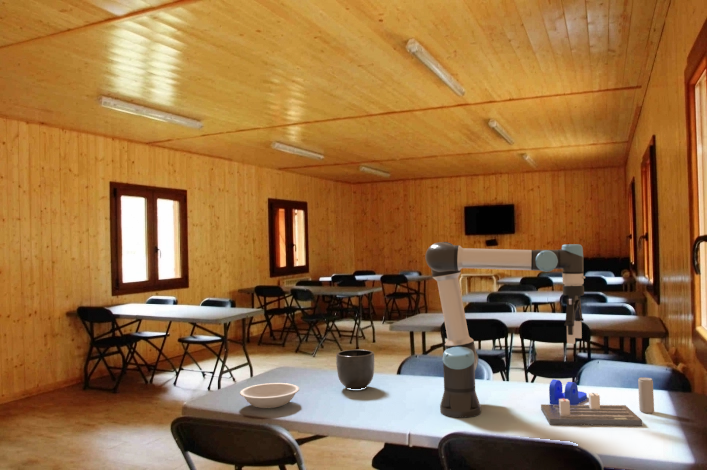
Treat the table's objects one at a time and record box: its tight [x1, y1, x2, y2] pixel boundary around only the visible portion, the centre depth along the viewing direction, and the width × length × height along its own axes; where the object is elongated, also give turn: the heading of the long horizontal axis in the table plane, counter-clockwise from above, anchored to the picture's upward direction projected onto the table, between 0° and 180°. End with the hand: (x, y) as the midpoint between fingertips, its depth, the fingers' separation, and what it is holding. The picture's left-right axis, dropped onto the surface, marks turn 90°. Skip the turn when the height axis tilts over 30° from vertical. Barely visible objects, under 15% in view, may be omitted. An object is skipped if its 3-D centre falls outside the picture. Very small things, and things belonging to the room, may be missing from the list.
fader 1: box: [559, 398, 570, 415], centre depth 202 cm, size 3×3×5 cm
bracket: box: [548, 379, 588, 405], centre depth 227 cm, size 18×8×9 cm, turn 135°
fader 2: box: [588, 392, 601, 409], centre depth 208 cm, size 3×3×5 cm
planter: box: [335, 349, 375, 389], centre depth 257 cm, size 17×17×16 cm
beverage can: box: [637, 376, 655, 414], centre depth 209 cm, size 5×5×12 cm
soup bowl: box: [239, 382, 300, 409], centre depth 233 cm, size 24×24×7 cm
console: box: [540, 404, 643, 427], centre depth 205 cm, size 30×18×3 cm, turn 81°
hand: (574, 340), depth 218 cm, fingers open, 13 cm apart
